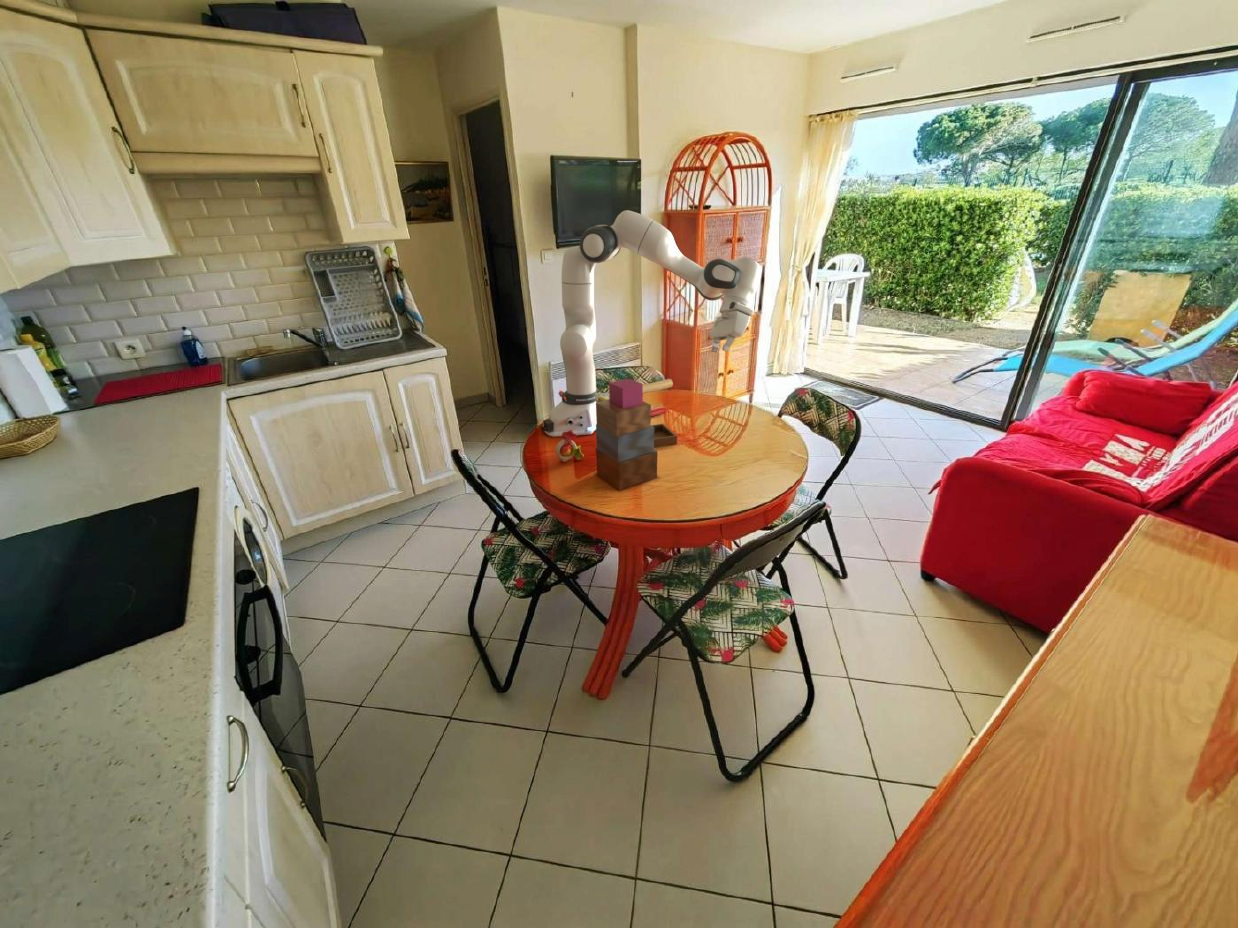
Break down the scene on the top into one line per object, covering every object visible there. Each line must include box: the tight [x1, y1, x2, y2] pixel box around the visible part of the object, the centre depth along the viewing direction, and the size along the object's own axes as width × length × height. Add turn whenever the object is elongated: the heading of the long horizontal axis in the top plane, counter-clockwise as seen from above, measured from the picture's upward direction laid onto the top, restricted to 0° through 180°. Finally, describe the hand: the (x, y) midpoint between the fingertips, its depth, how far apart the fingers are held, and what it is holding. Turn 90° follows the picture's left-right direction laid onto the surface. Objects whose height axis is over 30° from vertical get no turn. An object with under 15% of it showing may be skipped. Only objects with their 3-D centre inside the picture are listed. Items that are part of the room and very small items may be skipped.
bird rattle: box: [555, 430, 585, 463], centre depth 168 cm, size 6×11×9 cm
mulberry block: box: [608, 378, 674, 409], centre depth 151 cm, size 20×7×6 cm, turn 124°
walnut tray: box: [651, 423, 678, 448], centre depth 183 cm, size 17×13×3 cm
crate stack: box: [595, 400, 658, 491], centre depth 154 cm, size 14×13×24 cm
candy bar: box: [651, 406, 669, 417], centre depth 204 cm, size 16×4×3 cm, turn 123°
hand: (719, 351), depth 165 cm, fingers open, 8 cm apart
